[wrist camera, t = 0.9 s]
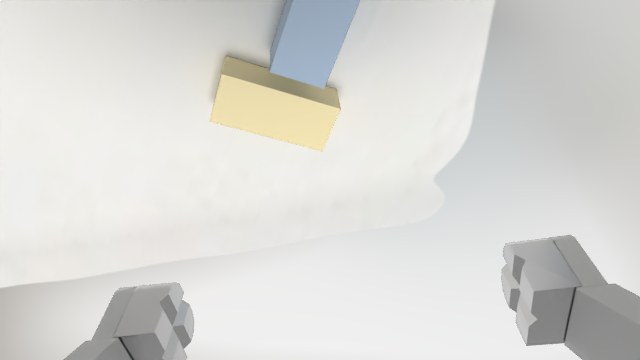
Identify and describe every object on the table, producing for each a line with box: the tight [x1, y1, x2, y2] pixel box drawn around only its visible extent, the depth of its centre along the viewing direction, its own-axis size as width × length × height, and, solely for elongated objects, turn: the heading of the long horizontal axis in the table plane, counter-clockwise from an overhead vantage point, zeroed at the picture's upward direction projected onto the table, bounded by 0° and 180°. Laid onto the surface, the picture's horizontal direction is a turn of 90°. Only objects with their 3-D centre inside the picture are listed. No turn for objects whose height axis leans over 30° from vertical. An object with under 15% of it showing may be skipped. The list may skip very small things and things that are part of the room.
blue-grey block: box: [270, 0, 360, 89], centre depth 32 cm, size 4×8×4 cm, turn 159°
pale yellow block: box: [210, 56, 341, 151], centre depth 36 cm, size 9×4×4 cm, turn 70°
